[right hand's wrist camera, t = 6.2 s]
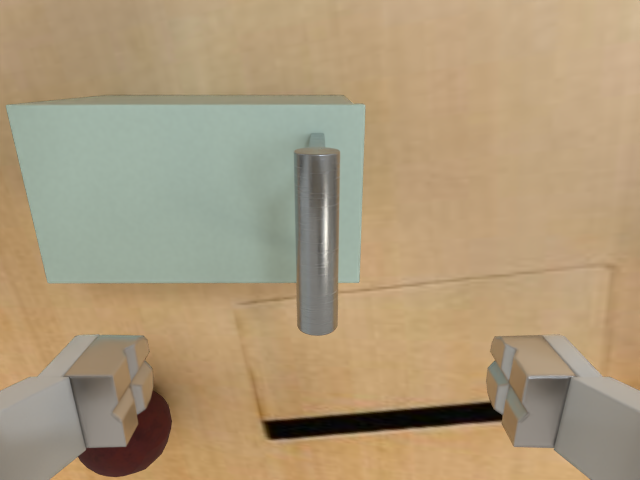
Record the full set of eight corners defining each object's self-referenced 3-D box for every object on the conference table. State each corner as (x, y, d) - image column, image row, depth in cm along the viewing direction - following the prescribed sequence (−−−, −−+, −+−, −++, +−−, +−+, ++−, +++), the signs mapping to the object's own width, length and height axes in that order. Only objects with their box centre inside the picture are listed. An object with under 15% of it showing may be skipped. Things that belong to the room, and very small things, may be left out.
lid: (363, 103, 23) (386, 118, 15) (358, 277, 26) (374, 361, 19) (15, 103, 23) (-140, 118, 15) (55, 277, 26) (-55, 361, 19)
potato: (84, 396, 41) (39, 456, 35) (144, 355, 40) (110, 410, 33) (138, 445, 44) (106, 512, 37) (198, 408, 42) (176, 471, 35)
